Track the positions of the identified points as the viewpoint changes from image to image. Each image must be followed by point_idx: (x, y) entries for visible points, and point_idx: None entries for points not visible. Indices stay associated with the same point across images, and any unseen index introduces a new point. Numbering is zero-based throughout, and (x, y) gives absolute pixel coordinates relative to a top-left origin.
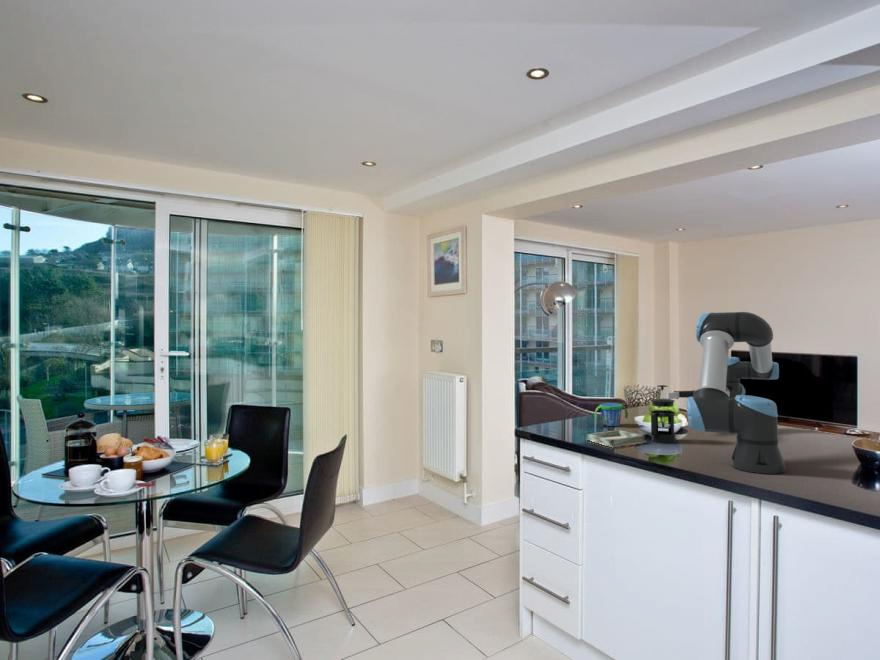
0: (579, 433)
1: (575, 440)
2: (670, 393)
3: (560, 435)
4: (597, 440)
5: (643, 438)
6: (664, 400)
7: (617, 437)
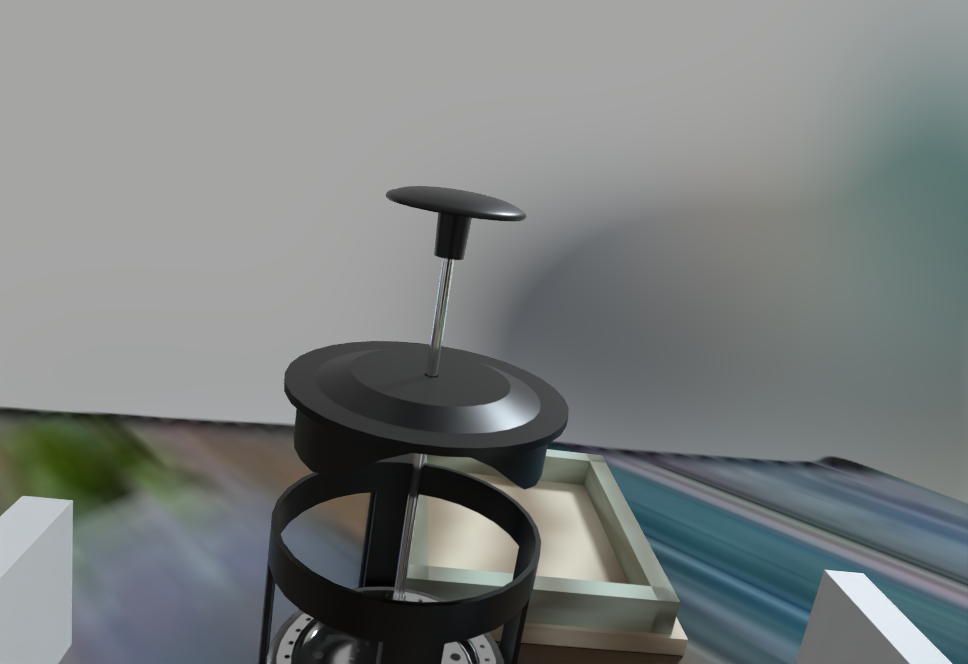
0: (822, 570)
1: (629, 478)
2: (859, 627)
3: (767, 499)
4: None
5: None
6: (361, 354)
7: (572, 572)
